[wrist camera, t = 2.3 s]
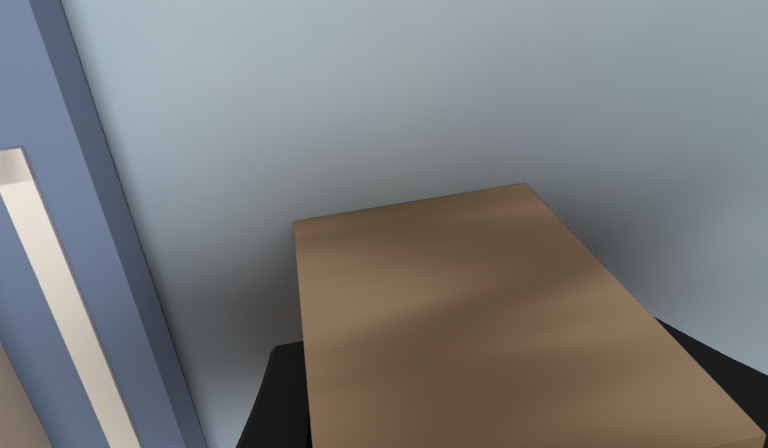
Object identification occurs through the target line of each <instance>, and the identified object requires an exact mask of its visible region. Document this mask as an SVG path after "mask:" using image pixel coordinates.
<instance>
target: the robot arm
mask: <svg viewBox="0 0 768 448" xmlns="http://www.w3.org/2000/svg"><path fill="white" fill-rule="evenodd" d="M654 318H655V317H654ZM655 319H656V320H657V321H658V322H659V323H660V324H661V325H662V326H663V327H664V328H665V330H666V331H667V332H668V333H669V334H670V335H671V336H672V337H673V338H674V339H675V340H676V341H677V342H678V343H679V344H680V345H681V346H682V347H683V348H684V349H685V350H686V351H687V352H688V354H689V355H690V356H691V357H692V358H693V359H694V360H695V361H696V362H697V363H698V364H699V365H700V366H701V367H702V368H703V369H704V370H705V371H706V372H707V373H708V374H709V375H710V376H711V378H712V379H713V380H714V381H715V382H716V383H717V384H718V385H719V386H720V387H721V388H722V389H723V390H724V391H725V392H726V393H727V394H728V395H729V396H730V397H731V398H732V399H733V401H734V402H735V403H736V404H737V405H738V406H739V407H740V408H741V409H742V410H743V411H744V412H745V413H746V414H747V415H748V416H749V417H750V418H751V419H752V420H753V421H754V422H755V423H756V425H757V426H758V427H759V428H760V429H761V430H762V431H763V432H764V433H765V434H766V438H765V442H764V445H763V448H768V376H767V375H765V374H763V373H761V372H759V371H757V370H755V369H753V368H751V367H749V366H747V365H744V364H742V363H740V362H738V361H736V360H734V359H732V358H730V357H728V356H726V355H724V354H722V353H720V352H718V351H716V350H714V349H712V348H711V347H709V346H707V345H705V344H703V343H701V342H699V341H697V340H695V339H694V338H692V337H690V336H688V335H686V334H684V333H682V332H681V331H679V330H677V329H675V328H673V327H671V326H670V325H668V324H666V323H664V322H662V321H661V320H659V319H657V318H655ZM236 448H313V446H312V434H311V423H310V411H309V400H308V388H307V376H306V365H305V353H304V341H300V342H294V343H289V344H284V345H278V346H275V348H274V349H273V350H272V351H271V352H270V357H269V361H268V365H267V368H266V372H265V375H264V378H263V381H262V384H261V387H260V390H259V392H258V395H257V398H256V401H255V403H254V406H253V408H252V411H251V413H250V416H249V418H248V420H247V423H246V425H245V427H244V430H243V432H242V435H241V437H240V439H239V442H238V444H237V446H236Z"/></svg>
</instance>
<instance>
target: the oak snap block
mask: <svg viewBox="0 0 768 448" xmlns="http://www.w3.org/2000/svg"><path fill="white" fill-rule="evenodd" d="M293 225H294V237H295V249H296V260H297V272H298V283H299V295H300V307H301V318H302V330H303V341H304V353H305V365H306V376H307V388H308V400H309V411H310V423H311V434H312V446H313V448H763V445H764V442H765V438H766V434H765V433H764V432H763V431H762V430H761V429H760V428H759V427H758V426H757V425H756V423H755V422H754V421H753V420H752V419H751V418H750V417H749V416H748V415H747V414H746V413H745V412H744V411H743V410H742V409H741V408H740V407H739V406H738V405H737V404H736V403H735V402H734V401H733V399H732V398H731V397H730V396H729V395H728V394H727V393H726V392H725V391H724V390H723V389H722V388H721V387H720V386H719V385H718V384H717V383H716V382H715V381H714V380H713V379H712V378H711V376H710V375H709V374H708V373H707V372H706V371H705V370H704V369H703V368H702V367H701V366H700V365H699V364H698V363H697V362H696V361H695V360H694V359H693V358H692V357H691V356H690V355H689V354H688V352H687V351H686V350H685V349H684V348H683V347H682V346H681V345H680V344H679V343H678V342H677V341H676V340H675V339H674V338H673V337H672V336H671V335H670V334H669V333H668V332H667V331H666V330H665V328H664V327H663V326H662V325H661V324H660V323H659V322H658V321H657V320H656V319H655V318H654V317H653V316H652V315H651V314H650V313H649V312H648V311H647V310H646V309H645V308H644V307H643V306H642V304H641V303H640V302H639V301H638V300H637V299H636V298H635V297H634V296H633V295H632V294H631V293H630V292H629V291H628V290H627V289H626V288H625V287H624V286H623V285H622V284H621V283H620V281H619V280H618V279H617V278H616V277H615V276H614V275H613V274H612V273H611V272H610V271H609V270H608V269H607V268H606V267H605V266H604V265H603V264H602V263H601V262H600V261H599V260H598V259H597V257H596V256H595V255H594V254H593V253H592V252H591V251H590V250H589V249H588V248H587V247H586V246H585V245H584V244H583V243H582V242H581V241H580V240H579V239H578V238H577V237H576V236H575V235H574V233H573V232H572V231H571V230H570V229H569V228H568V227H567V226H566V225H565V224H564V223H563V222H562V221H561V220H560V219H559V218H558V217H557V216H556V215H555V214H554V213H553V212H552V210H551V209H550V208H549V207H548V206H547V205H546V204H545V203H544V202H543V201H542V200H541V199H540V198H539V197H538V196H537V195H536V194H535V193H534V192H533V191H532V190H531V189H530V188H529V186H528V185H527V184H526V183H521V184H515V185H509V186H503V187H497V188H491V189H485V190H479V191H473V192H467V193H461V194H455V195H449V196H443V197H437V198H431V199H425V200H418V201H412V202H406V203H400V204H394V205H388V206H382V207H376V208H370V209H364V210H358V211H352V212H346V213H340V214H334V215H328V216H322V217H316V218H310V219H304V220H298V221H293Z"/></svg>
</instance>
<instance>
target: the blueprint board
mask: <svg viewBox="0 0 768 448" xmlns="http://www.w3.org/2000/svg"><path fill="white" fill-rule="evenodd" d="M0 448H207V446H206V443H205V440H204V437H203V434H202V431H201V427H200V424H199V421H198V418H197V415H196V412H195V409H194V406H193V403H192V400H191V397H190V394H189V391H188V388H187V385H186V382H185V379H184V376H183V373H182V370H181V367H180V364H179V361H178V358H177V355H176V351H175V348H174V345H173V342H172V339H171V336H170V333H169V330H168V327H167V324H166V321H165V318H164V315H163V312H162V309H161V306H160V303H159V300H158V297H157V294H156V291H155V288H154V285H153V282H152V279H151V275H150V272H149V269H148V266H147V263H146V260H145V257H144V254H143V251H142V248H141V245H140V242H139V239H138V236H137V233H136V230H135V227H134V224H133V221H132V218H131V215H130V212H129V209H128V206H127V203H126V199H125V196H124V193H123V190H122V187H121V184H120V181H119V178H118V175H117V172H116V169H115V166H114V163H113V160H112V157H111V154H110V151H109V148H108V145H107V142H106V139H105V136H104V133H103V130H102V127H101V123H100V120H99V117H98V114H97V111H96V108H95V105H94V102H93V99H92V96H91V93H90V90H89V87H88V84H87V81H86V78H85V75H84V72H83V69H82V66H81V63H80V60H79V57H78V54H77V51H76V47H75V44H74V41H73V38H72V35H71V32H70V29H69V26H68V23H67V20H66V17H65V14H64V11H63V8H62V5H61V2H60V0H0Z"/></svg>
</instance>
